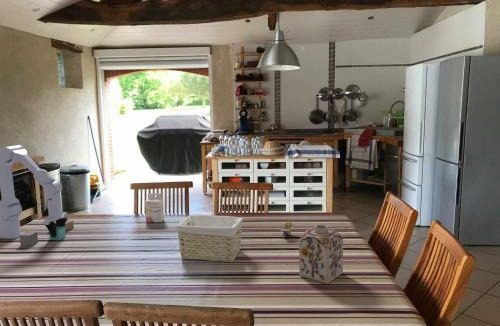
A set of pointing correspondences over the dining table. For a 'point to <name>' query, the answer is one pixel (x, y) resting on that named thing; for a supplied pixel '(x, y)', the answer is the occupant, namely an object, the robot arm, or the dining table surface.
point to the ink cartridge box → (154, 208)
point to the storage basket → (210, 237)
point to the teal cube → (59, 233)
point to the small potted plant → (287, 229)
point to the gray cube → (28, 238)
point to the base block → (68, 225)
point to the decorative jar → (321, 254)
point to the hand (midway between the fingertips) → (57, 235)
